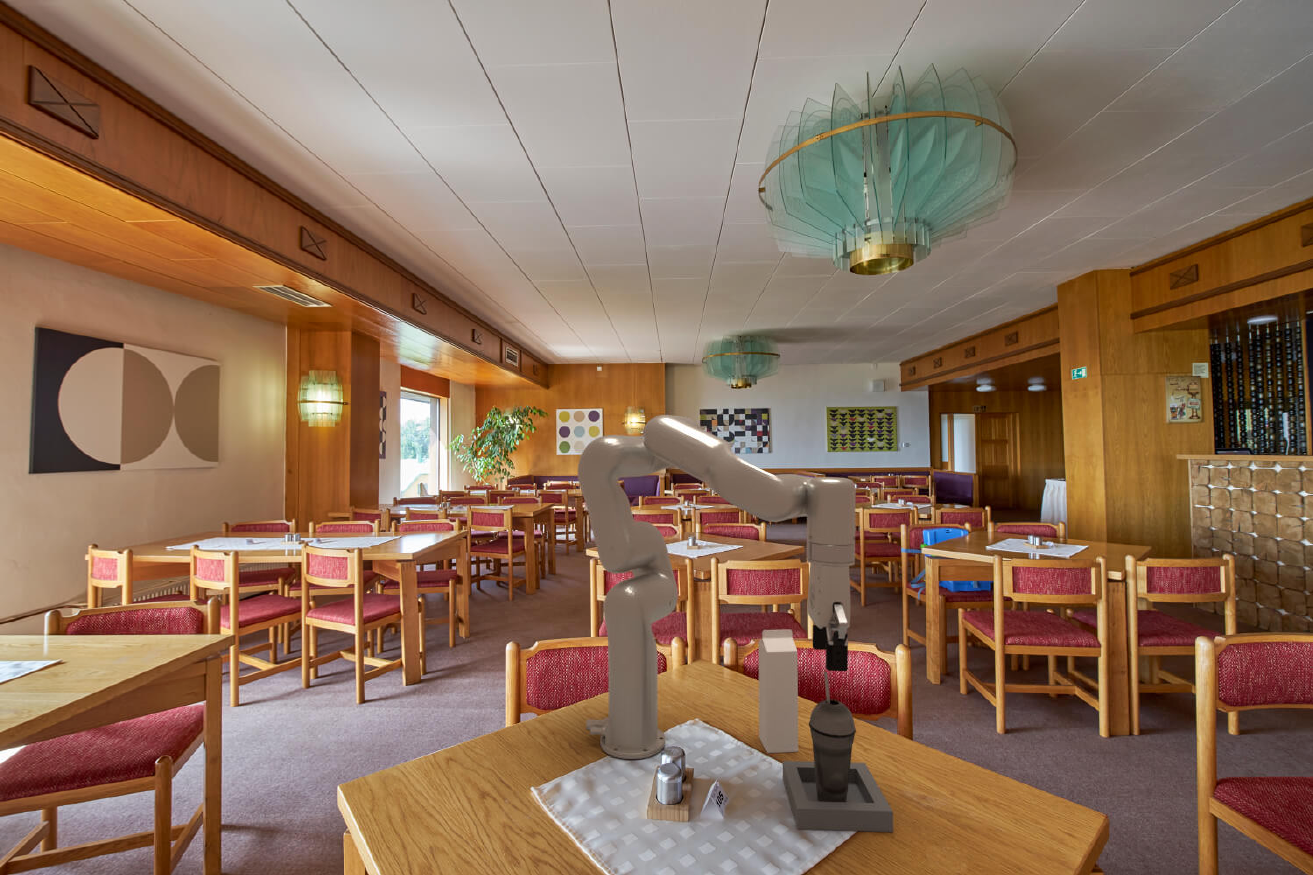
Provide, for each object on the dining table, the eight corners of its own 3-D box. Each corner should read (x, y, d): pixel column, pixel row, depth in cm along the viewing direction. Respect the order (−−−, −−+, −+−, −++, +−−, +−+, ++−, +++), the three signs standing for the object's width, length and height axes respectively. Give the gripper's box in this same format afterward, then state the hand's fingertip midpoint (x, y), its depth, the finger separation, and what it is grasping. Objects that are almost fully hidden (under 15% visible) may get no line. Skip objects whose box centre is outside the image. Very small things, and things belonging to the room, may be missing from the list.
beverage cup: (845, 818, 91) (846, 686, 91) (800, 800, 95) (801, 674, 95) (861, 796, 96) (862, 672, 97) (818, 780, 101) (819, 661, 101)
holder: (797, 828, 89) (797, 808, 89) (782, 778, 103) (782, 760, 103) (893, 832, 88) (892, 811, 88) (865, 780, 102) (864, 762, 102)
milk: (798, 752, 112) (798, 634, 113) (766, 753, 112) (766, 635, 112) (788, 736, 118) (788, 625, 119) (758, 738, 118) (758, 625, 118)
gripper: (797, 544, 106) (796, 641, 106) (818, 562, 89) (817, 678, 88) (840, 545, 105) (839, 642, 105) (870, 564, 88) (868, 680, 88)
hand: (829, 659), depth 97 cm, fingers open, 9 cm apart
